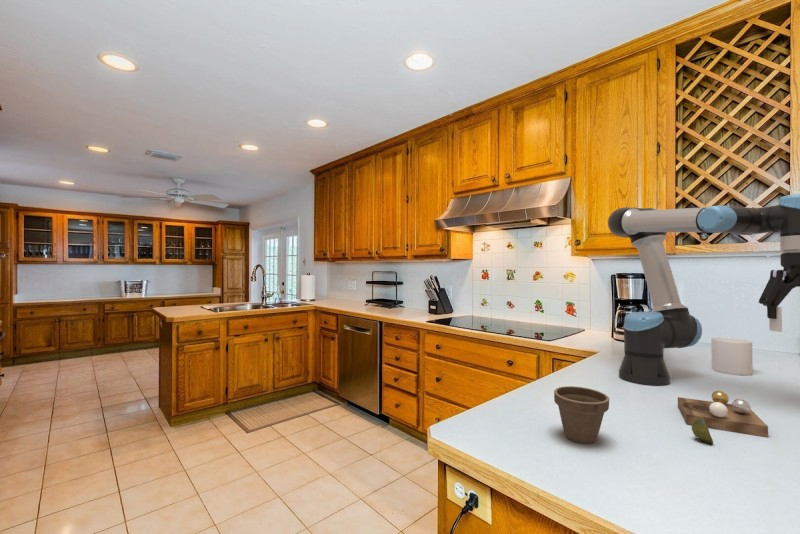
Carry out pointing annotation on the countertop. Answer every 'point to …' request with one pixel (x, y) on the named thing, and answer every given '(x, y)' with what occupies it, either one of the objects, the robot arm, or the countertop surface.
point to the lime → (701, 430)
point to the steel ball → (741, 406)
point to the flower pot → (581, 412)
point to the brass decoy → (720, 397)
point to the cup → (732, 356)
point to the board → (722, 418)
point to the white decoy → (718, 409)
